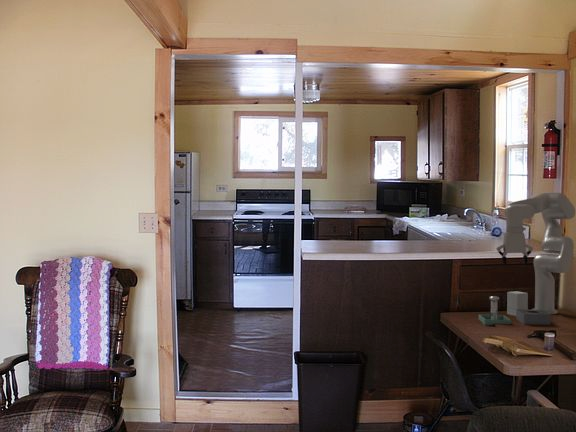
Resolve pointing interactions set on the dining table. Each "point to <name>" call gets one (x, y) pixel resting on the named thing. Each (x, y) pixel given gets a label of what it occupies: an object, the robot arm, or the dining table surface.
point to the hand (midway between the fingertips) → (514, 264)
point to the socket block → (533, 317)
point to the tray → (488, 321)
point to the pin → (494, 307)
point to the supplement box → (516, 302)
